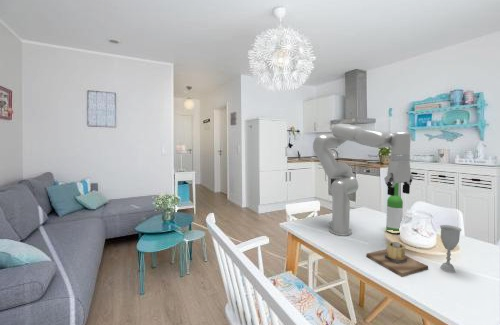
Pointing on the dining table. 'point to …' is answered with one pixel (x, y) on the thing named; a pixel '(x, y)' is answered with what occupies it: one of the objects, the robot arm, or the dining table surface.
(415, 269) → the shaft stand
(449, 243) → the chalice
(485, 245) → the dining table surface
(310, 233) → the dining table surface
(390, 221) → the wine bottle
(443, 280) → the dining table surface
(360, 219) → the dining table surface
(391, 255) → the ring
